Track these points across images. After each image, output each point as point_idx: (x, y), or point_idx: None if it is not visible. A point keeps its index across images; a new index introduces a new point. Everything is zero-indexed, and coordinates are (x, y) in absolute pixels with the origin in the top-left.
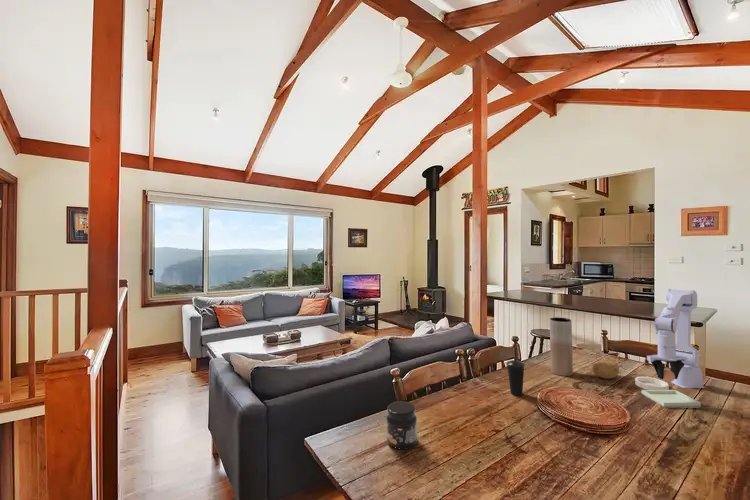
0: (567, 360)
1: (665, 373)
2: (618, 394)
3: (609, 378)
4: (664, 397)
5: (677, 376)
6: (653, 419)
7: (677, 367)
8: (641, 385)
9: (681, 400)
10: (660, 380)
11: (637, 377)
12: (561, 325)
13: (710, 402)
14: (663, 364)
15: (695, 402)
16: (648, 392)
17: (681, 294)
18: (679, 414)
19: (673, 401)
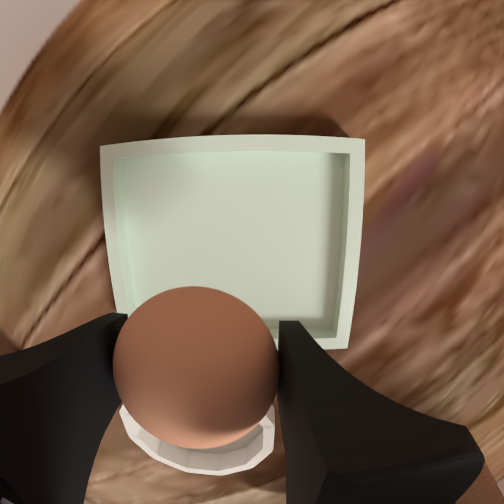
0: (485, 501)
1: (248, 360)
2: (455, 324)
3: None
4: (249, 269)
5: (96, 321)
6: (480, 43)
7: (25, 386)
8: (272, 413)
9: (169, 220)
10: (137, 436)
11: (232, 471)
12: None
13: (32, 224)
14: (400, 464)
15: (129, 144)
16: (309, 332)
17: None
18: (325, 52)
19: (237, 202)
